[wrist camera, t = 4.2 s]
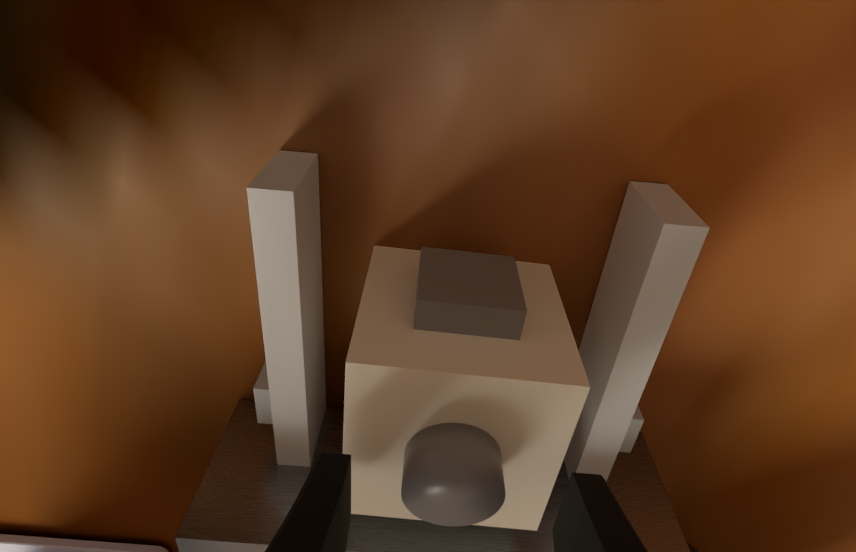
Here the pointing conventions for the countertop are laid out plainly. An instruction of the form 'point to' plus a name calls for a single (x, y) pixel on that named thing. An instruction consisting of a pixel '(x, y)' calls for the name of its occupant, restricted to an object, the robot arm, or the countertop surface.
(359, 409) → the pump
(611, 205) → the countertop surface
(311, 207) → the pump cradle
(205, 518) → the block
